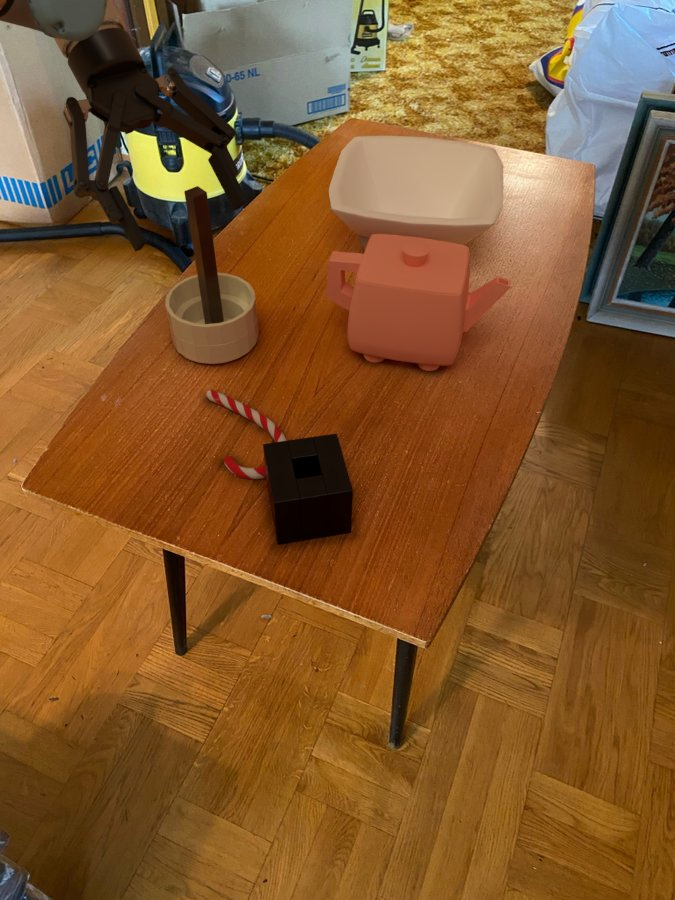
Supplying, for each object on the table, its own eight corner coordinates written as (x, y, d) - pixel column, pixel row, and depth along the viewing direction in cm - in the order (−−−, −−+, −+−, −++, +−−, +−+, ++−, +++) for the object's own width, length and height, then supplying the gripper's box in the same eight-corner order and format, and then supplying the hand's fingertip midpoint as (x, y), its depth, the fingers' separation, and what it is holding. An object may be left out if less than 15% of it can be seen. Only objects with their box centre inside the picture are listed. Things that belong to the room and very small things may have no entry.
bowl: (320, 277, 102) (319, 212, 95) (346, 191, 119) (347, 129, 111) (489, 295, 100) (503, 230, 92) (492, 204, 116) (504, 142, 109)
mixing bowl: (162, 362, 90) (153, 321, 85) (187, 309, 97) (180, 268, 92) (248, 371, 89) (243, 330, 84) (266, 317, 96) (263, 276, 91)
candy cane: (231, 377, 86) (304, 450, 78) (232, 384, 87) (304, 458, 79) (174, 404, 83) (244, 484, 75) (176, 412, 84) (245, 492, 76)
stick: (214, 341, 92) (193, 197, 77) (206, 334, 93) (183, 191, 78) (226, 335, 92) (207, 191, 78) (217, 329, 93) (197, 185, 78)
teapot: (497, 325, 96) (519, 230, 85) (490, 388, 87) (513, 292, 77) (337, 302, 98) (339, 208, 88) (316, 361, 90) (315, 265, 80)
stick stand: (277, 545, 72) (273, 502, 66) (267, 487, 77) (262, 443, 71) (351, 533, 73) (353, 490, 68) (336, 476, 78) (336, 433, 72)
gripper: (183, 39, 87) (266, 201, 90) (-16, 92, 75) (88, 275, 79) (202, 0, 80) (291, 177, 84) (-13, 53, 69) (101, 254, 73)
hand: (193, 225), depth 82 cm, fingers open, 13 cm apart
